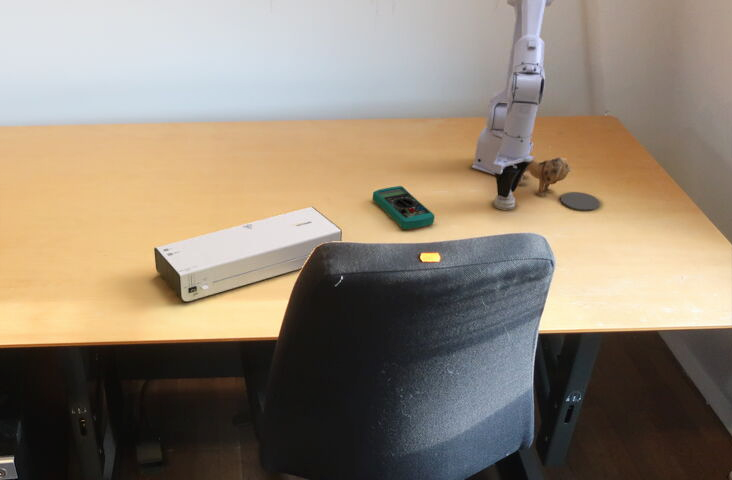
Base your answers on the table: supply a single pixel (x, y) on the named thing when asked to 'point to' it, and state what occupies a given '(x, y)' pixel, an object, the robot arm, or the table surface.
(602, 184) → the table surface
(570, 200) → the coaster
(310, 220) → the laminator
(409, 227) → the digital multimeter
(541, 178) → the lion figurine
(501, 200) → the chess piece
